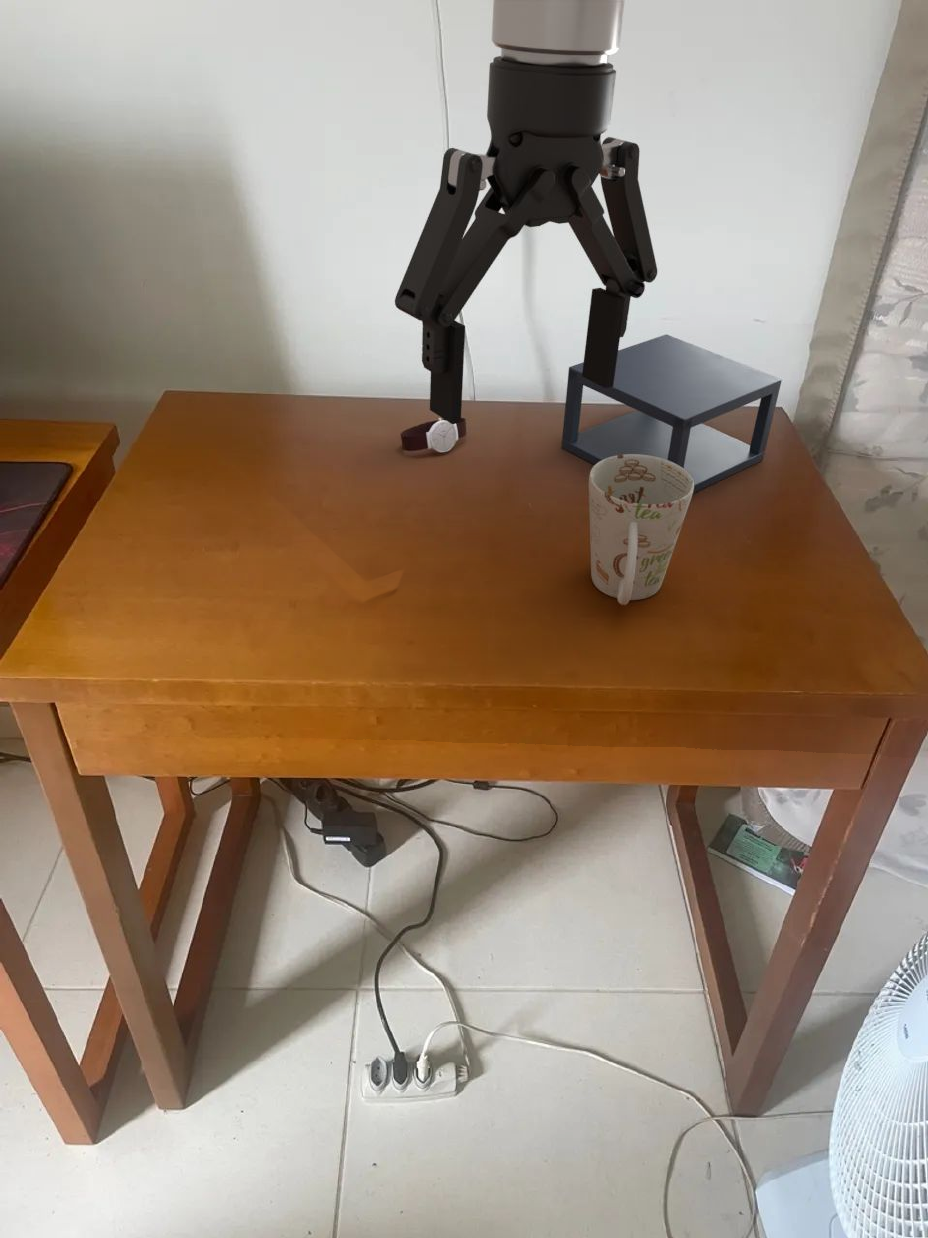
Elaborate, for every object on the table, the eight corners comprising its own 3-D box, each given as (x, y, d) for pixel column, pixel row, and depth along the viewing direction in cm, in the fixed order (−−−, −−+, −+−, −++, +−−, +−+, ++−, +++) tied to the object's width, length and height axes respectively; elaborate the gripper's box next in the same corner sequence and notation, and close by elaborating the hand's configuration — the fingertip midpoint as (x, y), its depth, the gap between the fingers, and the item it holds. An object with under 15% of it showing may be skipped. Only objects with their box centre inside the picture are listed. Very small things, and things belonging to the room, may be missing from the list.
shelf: (763, 460, 103) (782, 379, 98) (669, 504, 95) (684, 419, 90) (654, 410, 112) (666, 333, 107) (560, 447, 104) (568, 366, 99)
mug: (673, 558, 88) (692, 458, 82) (678, 645, 78) (699, 539, 72) (579, 549, 88) (591, 449, 82) (572, 634, 78) (585, 528, 72)
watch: (415, 464, 100) (415, 431, 98) (390, 446, 103) (390, 414, 101) (476, 444, 104) (477, 413, 102) (450, 428, 107) (450, 397, 105)
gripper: (663, 47, 66) (620, 353, 78) (335, 50, 54) (344, 411, 66) (746, 60, 61) (687, 384, 73) (406, 66, 49) (402, 453, 61)
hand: (524, 398), depth 70 cm, fingers open, 13 cm apart
